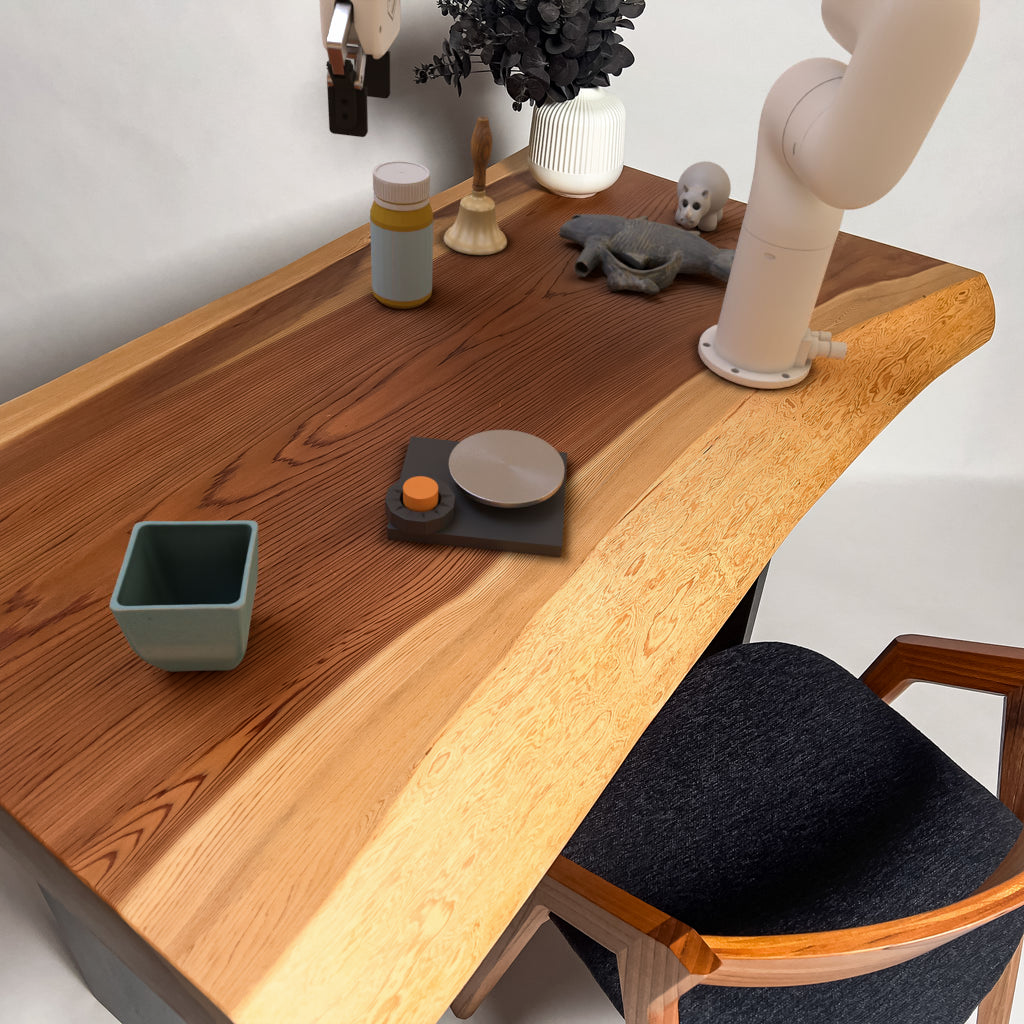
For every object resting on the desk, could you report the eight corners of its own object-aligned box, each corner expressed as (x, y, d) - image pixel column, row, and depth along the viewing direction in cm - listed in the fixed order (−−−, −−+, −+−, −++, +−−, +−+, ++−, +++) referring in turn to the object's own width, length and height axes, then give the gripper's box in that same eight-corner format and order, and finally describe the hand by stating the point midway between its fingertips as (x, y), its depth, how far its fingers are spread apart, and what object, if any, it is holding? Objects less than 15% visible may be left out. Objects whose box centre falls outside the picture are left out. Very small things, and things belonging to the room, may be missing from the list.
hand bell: (515, 234, 128) (525, 112, 117) (494, 261, 122) (502, 135, 111) (457, 221, 129) (461, 100, 119) (433, 247, 123) (436, 121, 113)
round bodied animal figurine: (653, 239, 130) (664, 178, 124) (679, 207, 138) (691, 148, 132) (704, 253, 128) (717, 191, 122) (728, 220, 136) (742, 160, 130)
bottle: (436, 284, 116) (438, 162, 106) (426, 314, 111) (428, 188, 101) (379, 278, 116) (376, 156, 106) (366, 307, 111) (362, 181, 101)
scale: (565, 463, 92) (569, 439, 90) (560, 561, 82) (563, 536, 80) (406, 447, 92) (406, 422, 90) (381, 542, 82) (380, 517, 80)
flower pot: (156, 603, 76) (134, 519, 70) (270, 602, 77) (259, 518, 71) (132, 693, 69) (106, 609, 63) (258, 691, 70) (244, 607, 64)
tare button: (440, 491, 84) (440, 477, 83) (435, 514, 82) (435, 500, 81) (406, 487, 84) (406, 474, 83) (400, 510, 82) (400, 496, 81)
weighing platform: (566, 440, 90) (566, 435, 90) (561, 514, 82) (562, 508, 82) (455, 429, 90) (456, 424, 90) (441, 501, 82) (441, 496, 82)
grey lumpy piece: (580, 189, 127) (531, 244, 118) (763, 234, 120) (726, 297, 111) (579, 223, 131) (530, 279, 122) (756, 269, 124) (719, 332, 114)
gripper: (381, -85, 68) (383, 156, 79) (422, -125, 80) (419, 87, 92) (275, -97, 68) (293, 145, 79) (334, -135, 81) (342, 78, 92)
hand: (361, 114), depth 85 cm, fingers open, 9 cm apart
